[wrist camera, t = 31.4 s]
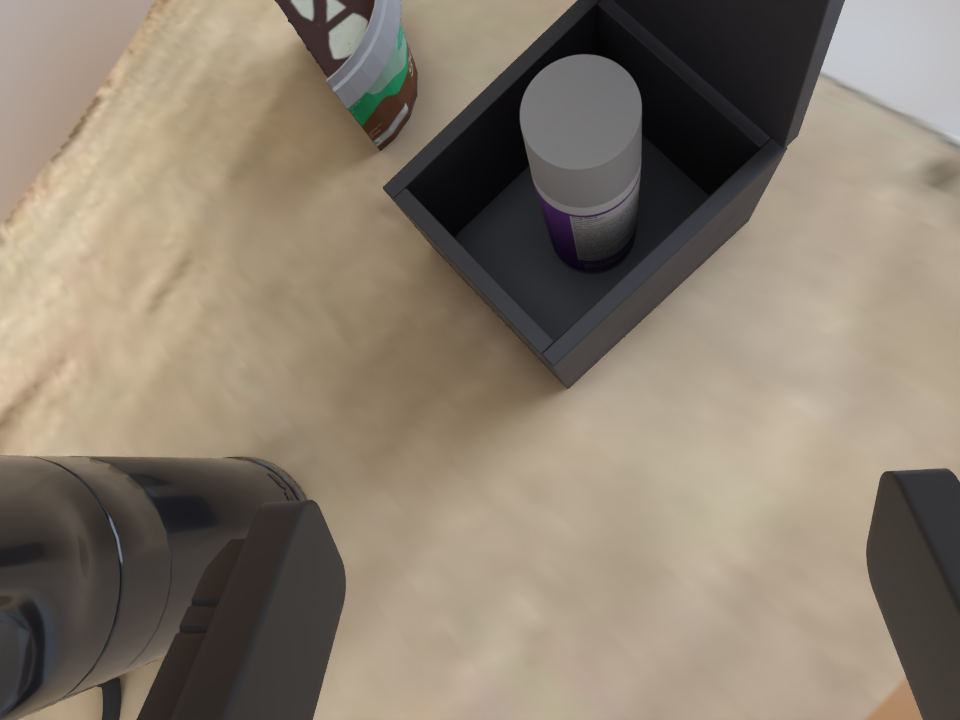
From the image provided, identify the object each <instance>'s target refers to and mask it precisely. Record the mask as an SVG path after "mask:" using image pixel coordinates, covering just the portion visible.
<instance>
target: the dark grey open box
mask: <svg viewBox="0 0 960 720" xmlns="http://www.w3.org/2000/svg"><path fill="white" fill-rule="evenodd" d="M581 54H589V55H597V56H602V57H605V58H607V59H610V60H612V61H614V62H616V63H617V64H619V65H620V66H622V67H623V68H624V69H625V70H626V71H627V72H628V73H629V74H630V75H631V77H632V78H633V79H634V81H635V83H636V85H637V87H638V89H639V92H640V96H641V101H642V148H641V158H642V162H641V176H640V188H639V200H638V212H637V224H636V235H635V240H634V244H633V247H632V249H631V251H630V253H629V254H628V256H627V257H626V258H625V259H624V261H623V262H621V263H620V264H619V265H618V266H616V267H615V268H613V269H611V270H609V271H606V272H603V273H597V274H587V273H581V272H578V271H575V270H573V269H571V268H570V267H568V266H567V265H565V264H564V263H563V262H562V261H561V260H560V258H559V257H558V256H557V254H556V252H555V250H554V248H553V245H552V242H551V239H550V236H549V232H548V229H547V226H546V222H545V219H544V216H543V212H542V209H541V206H540V203H539V199H538V196H537V193H536V189H535V186H534V183H533V179H532V175H531V170H530V165H529V161H528V156H527V152H526V147H525V143H524V139H523V134H522V130H521V125H520V107H521V102H522V99H523V96H524V93H525V91H526V89H527V87H528V86H529V84H530V83H531V81H532V80H533V79H534V78H535V76H536V75H537V74H538V73H539V72H540V71H542V70H543V69H544V68H545V67H547V66H548V65H550V64H551V63H553V62H555V61H557V60H559V59H562V58H565V57H568V56H573V55H581ZM786 150H787V147H786V148H784V149H783V148H782V147H781V146H780V145H778V144H777V143H776V142H775V141H774V140H773V139H771V138H770V137H769V136H768V135H767V134H766V133H765V132H763V131H762V130H761V129H760V128H759V127H758V126H757V125H755V124H754V123H753V122H752V121H751V120H750V119H749V118H747V117H746V116H745V115H744V114H743V113H742V112H741V111H739V110H738V109H737V108H736V107H735V106H734V105H732V104H731V103H730V102H729V101H728V100H727V99H726V98H724V97H723V96H722V95H721V94H720V93H719V92H718V91H716V90H715V89H714V88H713V87H712V86H711V85H710V84H708V83H707V82H706V81H705V80H704V79H703V78H702V77H700V76H699V75H698V74H697V73H696V72H695V71H693V70H692V69H691V68H690V67H689V66H688V65H687V64H685V63H684V62H683V61H682V60H681V59H680V58H679V57H677V56H676V55H675V54H674V53H673V52H672V51H671V50H669V49H668V48H667V47H666V46H665V45H664V44H663V43H661V42H660V41H659V40H658V39H657V38H656V37H654V36H653V35H652V34H651V33H650V32H649V31H648V30H646V29H645V28H644V27H643V26H642V25H641V24H640V23H638V22H637V21H636V20H635V19H634V18H633V17H632V16H630V15H629V14H628V13H627V12H626V11H625V10H624V9H622V8H621V7H620V6H619V5H618V4H617V3H615V2H614V1H613V0H578V1H576V2H575V3H574V4H573V5H572V6H571V7H570V8H569V9H568V10H567V11H566V12H565V13H564V14H563V15H562V16H561V17H560V18H559V19H558V20H557V21H556V22H555V23H554V24H553V25H551V26H550V27H549V28H548V29H547V30H546V31H545V32H544V33H543V34H542V35H541V36H540V37H539V38H538V39H537V40H536V41H535V42H534V43H533V44H532V45H531V46H530V47H529V48H528V49H527V50H525V51H524V52H523V53H522V54H521V55H520V56H519V57H518V58H517V59H516V60H515V61H514V62H513V63H512V64H511V65H510V66H509V67H508V68H507V69H506V70H505V71H504V72H503V73H502V74H500V75H499V76H498V77H497V78H496V79H495V80H494V81H493V82H492V83H491V84H490V85H489V86H488V87H487V88H486V89H485V90H484V91H483V92H482V93H481V94H480V95H479V96H478V97H477V98H476V99H474V100H473V101H472V102H471V103H470V104H469V105H468V106H467V107H466V108H465V109H464V110H463V111H462V112H461V113H460V114H459V115H458V116H457V117H456V118H455V119H454V120H453V121H452V122H451V123H449V124H448V125H447V126H446V127H445V128H444V129H443V130H442V131H441V132H440V133H439V134H438V135H437V136H436V137H435V138H434V139H433V140H432V141H431V142H430V143H429V144H428V145H427V146H426V147H425V148H423V149H422V150H421V151H420V152H419V153H418V154H417V155H416V156H415V157H414V158H413V159H412V160H411V161H410V162H409V163H408V164H407V165H406V166H405V167H404V168H403V169H402V170H401V171H400V172H398V173H397V174H396V175H395V176H394V177H393V178H392V179H391V180H390V181H389V182H388V183H387V184H386V185H385V186H384V187H383V189H384V190H385V192H386V193H387V194H388V195H389V196H390V197H391V199H392V200H393V201H394V202H395V203H396V204H397V206H398V207H399V208H400V209H401V210H402V211H403V213H404V214H405V215H406V216H407V217H408V218H409V220H410V221H411V222H412V223H413V224H414V225H415V227H416V228H417V229H418V230H419V231H420V232H421V234H422V235H423V236H424V237H425V238H426V239H427V241H428V242H429V243H430V244H431V245H432V246H433V248H434V249H435V250H436V251H437V252H438V253H439V254H440V255H441V256H442V257H443V258H444V259H445V260H446V261H447V262H448V263H449V264H450V265H451V267H452V268H453V269H454V270H455V271H456V272H457V273H458V274H459V275H460V276H461V277H462V278H463V279H464V280H465V281H466V282H467V283H468V284H469V285H470V287H471V288H472V289H473V290H474V291H475V292H476V293H477V294H478V295H479V296H480V297H481V298H482V299H483V300H484V301H485V302H486V303H487V304H488V305H489V307H490V308H491V309H492V310H493V311H494V312H495V313H496V314H497V315H498V316H499V317H500V318H501V319H502V320H503V321H504V322H505V323H506V324H507V325H508V327H509V328H510V329H511V330H512V331H513V332H514V333H515V334H516V335H517V336H518V337H519V338H520V339H521V340H522V341H523V342H524V343H525V344H526V346H527V347H528V348H529V349H530V350H531V351H532V352H533V353H534V354H535V355H536V356H537V357H538V358H539V359H540V360H541V361H542V362H543V363H544V364H545V366H546V367H547V368H548V369H549V370H550V371H551V372H552V373H553V374H554V375H555V376H556V377H557V378H558V379H559V380H560V381H561V382H562V383H563V384H564V386H565V387H566V388H570V387H571V386H572V385H573V384H574V383H575V382H576V381H577V380H578V379H580V378H581V377H582V376H583V375H584V374H585V373H586V372H587V371H588V370H589V369H590V368H591V367H592V366H593V365H595V364H596V363H597V362H598V361H599V360H600V359H601V358H602V357H603V356H604V355H605V354H606V353H607V352H608V351H610V350H611V349H612V348H613V347H614V346H615V345H616V344H617V343H618V342H619V341H620V340H621V339H622V338H623V337H625V336H626V335H627V334H628V333H629V332H630V331H631V330H632V329H633V328H634V327H635V326H636V325H637V324H638V323H640V322H641V321H642V320H643V319H644V318H645V317H646V316H647V315H648V314H649V313H650V312H651V311H652V310H653V309H654V308H656V307H657V306H658V305H659V304H660V303H661V302H662V301H663V300H664V299H665V298H666V297H667V296H668V295H669V294H671V293H672V292H673V291H674V290H675V289H676V288H677V287H678V286H679V285H680V284H681V283H682V282H683V281H684V280H686V279H687V278H688V277H689V276H690V275H691V274H692V273H693V272H694V271H695V270H696V269H697V268H698V267H699V266H701V265H702V264H703V263H704V262H705V261H706V260H707V259H708V258H709V257H710V256H711V255H712V254H713V253H714V252H716V251H717V250H718V249H719V248H720V247H721V246H722V245H723V244H724V243H725V242H726V241H727V240H728V239H729V238H731V237H732V236H733V235H734V234H735V233H736V232H737V231H738V230H739V229H740V228H741V227H742V226H743V225H744V224H746V223H747V222H748V221H749V219H750V217H751V215H752V213H753V211H754V210H755V208H756V206H757V204H758V202H759V200H760V198H761V196H762V195H763V193H764V191H765V189H766V187H767V185H768V183H769V181H770V180H771V178H772V176H773V174H774V172H775V170H776V168H777V166H778V165H779V163H780V161H781V159H782V157H783V155H784V153H785V151H786Z"/></svg>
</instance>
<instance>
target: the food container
mask: <svg viewBox="0 0 960 720" xmlns="http://www.w3.org/2000/svg"><path fill="white" fill-rule="evenodd" d="M275 1H276V2H277V3H278V5H279V6H280V7H281V9H282V10H283V12H284V13H285V15H286V16H287V18H288V22H290V23H291V24H292V25H293V27H294V28H295V30H296V31H297V34H298V35H299V36H300V37H301V39H302V41H303V42H304V43H305V45H306V48H307V49H308V51H310V52H311V54H312V55H313V57H314V58H315V60H316V63H318V64H319V66H320V67H321V69H322V70H323V71H324V74H325V75H326V76H327V77H328V79H327V80H326V82H327V83H328V84H329V86H330V87H331V88H332V90H333V91H334V92H335V94H336V95H337V97H338V98H339V99H340V101H341V102H342V103H343V105H344V106H345V107H346V109H348V110H349V111H350V113H351V114H352V115H353V116H354V118H355V119H356V120H357V122H358V123H359V124H360V125H361V127H362V128H363V129H364V131H365V132H366V133H367V134H368V136H369V137H370V138H371V140H372V141H373V142H374V143H375V145H376V146H377V147H378V149H379V150H380V151H381V150H382V149H383V148H384V147H386V146H387V145H388V144H389V143H390V142H392V141H393V140H394V139H395V138H396V136H397V135H398V133H399V132H400V131H401V129H402V128H403V126H404V125H405V124H406V122H407V121H408V119H409V118H410V115H411V112H412V109H413V106H414V103H415V100H416V97H417V70H416V66H415V63H414V60H413V57H412V54H411V51H410V49H409V46H408V43H407V40H406V37H405V35H404V32H403V29H402V26H401V24H400V19H401V0H275Z"/></svg>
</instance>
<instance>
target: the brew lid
mask: <svg viewBox="0 0 960 720" xmlns="http://www.w3.org/2000/svg"><path fill="white" fill-rule="evenodd" d="M613 1H614V2H615V3H617V4H618V5H619V6H620V7H621V8H622V9H624V10H625V11H626V12H627V13H628V14H629V15H630V16H632V17H633V18H634V19H635V20H636V21H637V22H638V23H640V24H641V25H642V26H643V27H644V28H645V29H646V30H648V31H649V32H650V33H651V34H652V35H653V36H654V37H656V38H657V39H658V40H659V41H660V42H661V43H663V44H664V45H665V46H666V47H667V48H668V49H669V50H671V51H672V52H673V53H674V54H675V55H676V56H677V57H679V58H680V59H681V60H682V61H683V62H684V63H685V64H687V65H688V66H689V67H690V68H691V69H692V70H693V71H695V72H696V73H697V74H698V75H699V76H700V77H702V78H703V79H704V80H705V81H706V82H707V83H708V84H710V85H711V86H712V87H713V88H714V89H715V90H716V91H718V92H719V93H720V94H721V95H722V96H723V97H724V98H726V99H727V100H728V101H729V102H730V103H731V104H732V105H734V106H735V107H736V108H737V109H738V110H739V111H741V112H742V113H743V114H744V115H745V116H746V117H747V118H749V119H750V120H751V121H752V122H753V123H754V124H755V125H757V126H758V127H759V128H760V129H761V130H762V131H763V132H765V133H766V134H767V135H768V136H769V137H770V138H771V139H773V140H774V141H775V142H776V143H777V144H778V145H780V146H781V147H782V148H783V149H784V148H786V147H787V146H788V145H789V144H790V143H791V142H792V141H793V140H794V139H795V138H796V137H797V136H798V134H799V131H800V128H801V125H802V122H803V119H804V116H805V113H806V111H807V108H808V105H809V102H810V99H811V96H812V93H813V90H814V88H815V85H816V82H817V79H818V76H819V73H820V70H821V67H822V65H823V62H824V59H825V56H826V53H827V50H828V47H829V44H830V41H831V39H832V36H833V33H834V30H835V27H836V24H837V21H838V18H839V15H840V13H841V9H842V6H843V4H844V1H845V0H613Z"/></svg>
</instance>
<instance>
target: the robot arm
mask: <svg viewBox="0 0 960 720" xmlns="http://www.w3.org/2000/svg"><path fill="white" fill-rule="evenodd" d="M866 557H867V567H868V573H869V578H870V582H871V585H872V589H873V591H874V594H875V597H876V599H877V602H878V605H879V607H880V610H881V612H882V615H883V618H884V620H885V623H886V625H887V628H888V630H889V633H890V636H891V638H892V641H893V643H894V646H895V649H896V651H897V654H898V656H899V659H900V662H901V664H902V667H903V669H904V672H905V674H906V677H907V680H908V682H909V685H910V687H911V690H912V692H913V695H914V698H915V700H916V703H917V706H918V708H919V711H920V713H921V716H922V718H923V720H960V482H959V480H958V479H957V477H956V476H955V475H954V474H953V472H951V471H950V470H949V469H946V468H942V469H924V470H905V471H886V472H884V473H883V474H882V476H881V478H880V482H879V487H878V491H877V496H876V501H875V506H874V511H873V516H872V521H871V526H870V531H869V535H868V540H867V549H866ZM345 590H346V578H345V570H344V565H343V562H342V559H341V557H340V554H339V552H338V550H337V547H336V545H335V543H334V540H333V538H332V536H331V533H330V531H329V529H328V526H327V524H326V522H325V519H324V517H323V515H322V513H321V510H320V508H319V506H318V505H317V503H316V502H315V501H313V500H306V498H305V496H304V494H303V492H302V491H301V489H300V488H299V486H298V485H297V484H296V482H295V481H294V480H293V479H292V478H291V477H290V476H289V475H288V474H287V473H285V472H284V471H283V470H281V469H280V468H278V467H277V466H275V465H273V464H271V463H269V462H266V461H264V460H260V459H256V458H250V457H227V458H172V457H94V456H69V457H68V456H4V455H0V720H19V719H21V718H24V717H26V716H28V715H31V714H33V713H35V712H38V711H40V710H42V709H44V708H46V707H48V706H51V705H53V704H55V703H58V702H60V701H62V700H65V699H67V698H70V697H72V696H74V695H77V694H79V693H81V692H84V691H86V690H88V689H91V688H93V687H95V686H97V687H102V692H103V716H102V720H119V717H120V706H121V689H120V680H119V678H118V676H120V675H123V674H125V673H127V672H130V671H132V670H135V669H137V668H139V667H142V666H144V665H146V664H149V663H151V662H153V661H156V660H158V659H161V658H163V657H165V659H164V661H163V663H162V665H161V667H160V670H159V672H158V674H157V676H156V678H155V680H154V683H153V685H152V687H151V689H150V691H149V694H148V696H147V698H146V700H145V702H144V705H143V707H142V709H141V711H140V713H139V716H138V718H137V720H313V717H314V713H315V709H316V705H317V702H318V698H319V694H320V690H321V687H322V683H323V679H324V675H325V672H326V668H327V664H328V660H329V657H330V653H331V649H332V645H333V642H334V638H335V634H336V630H337V627H338V623H339V619H340V615H341V612H342V608H343V604H344V599H345Z"/></svg>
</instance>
